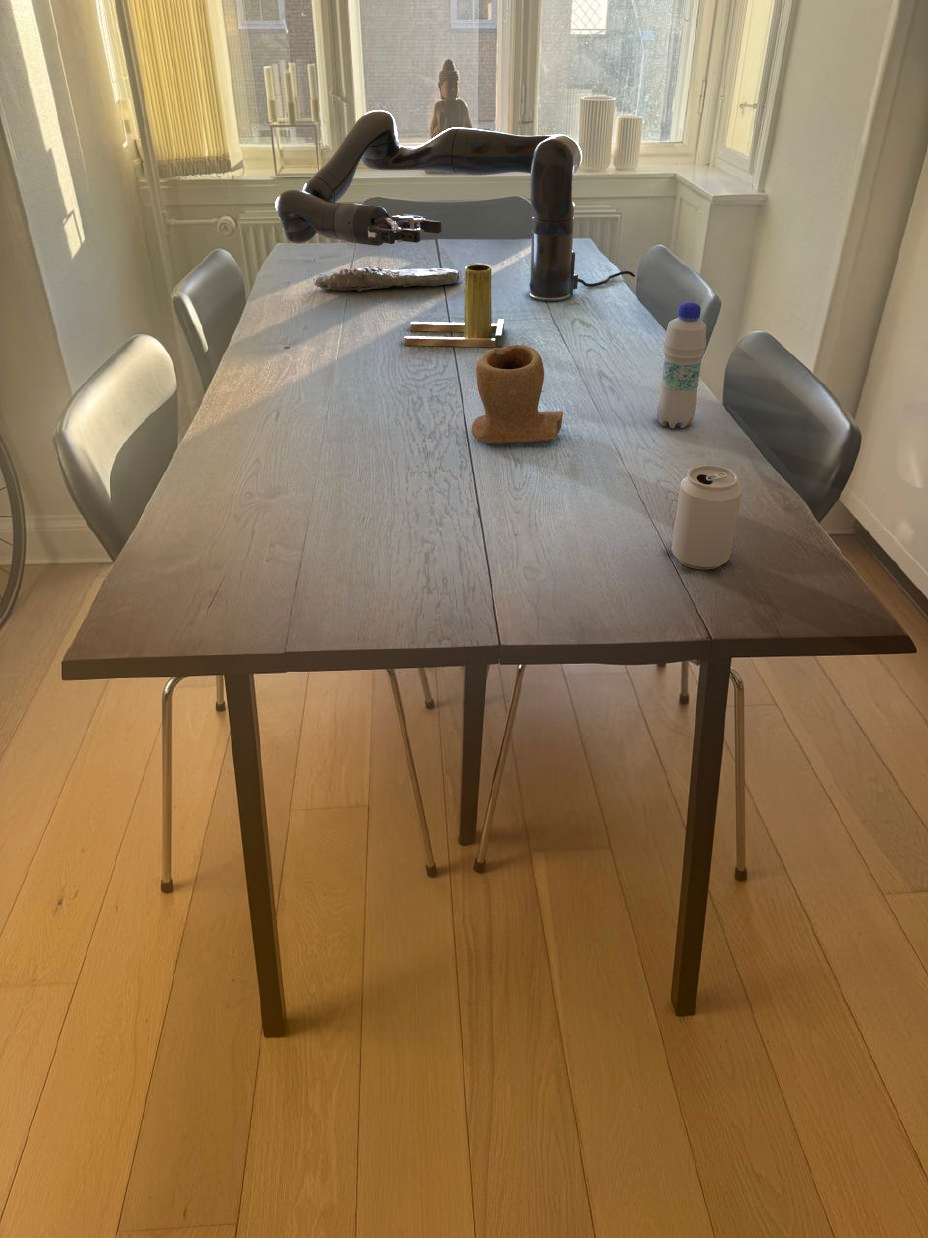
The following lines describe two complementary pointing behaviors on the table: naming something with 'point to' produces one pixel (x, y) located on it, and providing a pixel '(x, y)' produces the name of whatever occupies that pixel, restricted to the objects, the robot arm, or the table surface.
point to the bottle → (681, 367)
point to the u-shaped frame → (453, 340)
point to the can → (706, 516)
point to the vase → (477, 302)
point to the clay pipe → (513, 398)
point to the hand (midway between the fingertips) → (430, 231)
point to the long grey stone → (384, 278)
